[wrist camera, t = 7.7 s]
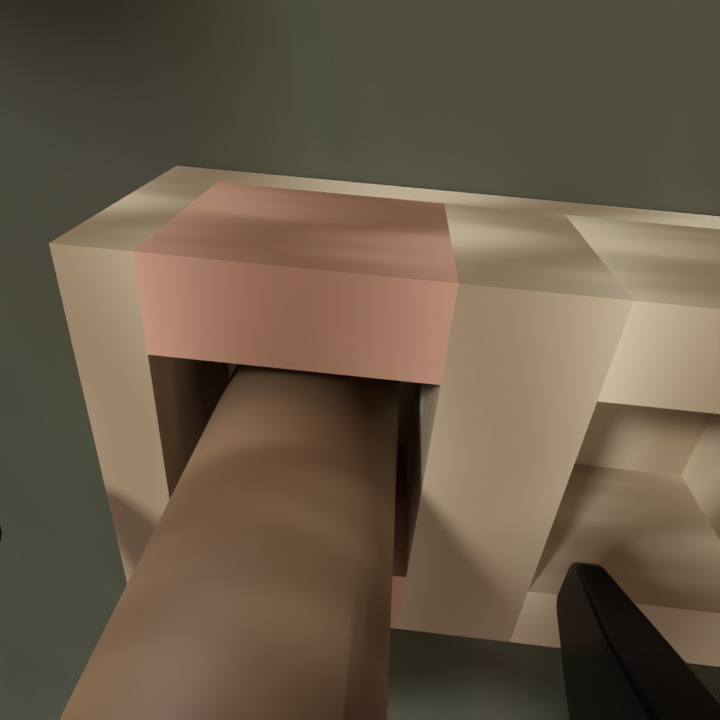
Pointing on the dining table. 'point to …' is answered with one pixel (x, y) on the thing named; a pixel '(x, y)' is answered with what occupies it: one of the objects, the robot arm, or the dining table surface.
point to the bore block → (432, 377)
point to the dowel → (264, 564)
